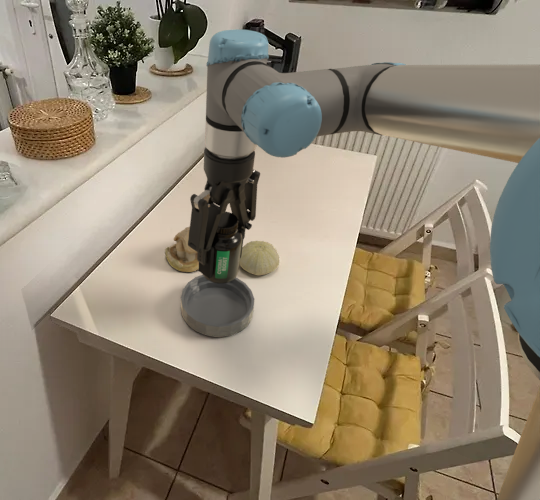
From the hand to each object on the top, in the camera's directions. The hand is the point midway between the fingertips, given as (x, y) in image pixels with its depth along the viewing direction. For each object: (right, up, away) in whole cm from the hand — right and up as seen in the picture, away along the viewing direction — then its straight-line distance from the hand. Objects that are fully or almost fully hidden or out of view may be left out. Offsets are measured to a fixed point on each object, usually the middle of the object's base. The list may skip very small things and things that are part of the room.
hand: (220, 263), depth 78 cm
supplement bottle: (0, -2, +1) cm, 2 cm away
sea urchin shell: (+10, -1, +19) cm, 21 cm away
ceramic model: (-4, +1, +20) cm, 21 cm away
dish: (0, -10, +8) cm, 12 cm away
